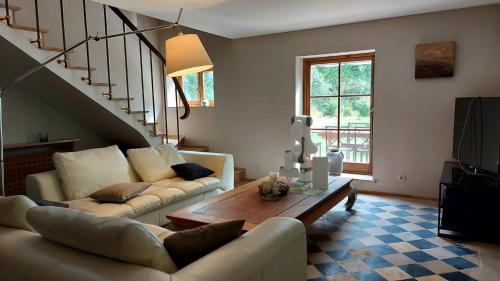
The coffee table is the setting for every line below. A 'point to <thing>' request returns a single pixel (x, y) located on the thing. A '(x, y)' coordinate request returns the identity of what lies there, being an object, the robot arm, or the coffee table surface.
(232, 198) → the coffee table surface
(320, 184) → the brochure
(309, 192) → the mat
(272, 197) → the owl figurine
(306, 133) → the robot arm
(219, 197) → the coffee table surface
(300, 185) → the coaster
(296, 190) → the riser
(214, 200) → the coffee table surface
